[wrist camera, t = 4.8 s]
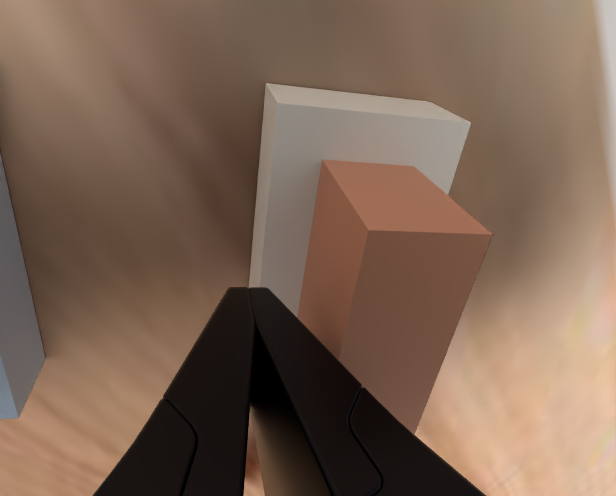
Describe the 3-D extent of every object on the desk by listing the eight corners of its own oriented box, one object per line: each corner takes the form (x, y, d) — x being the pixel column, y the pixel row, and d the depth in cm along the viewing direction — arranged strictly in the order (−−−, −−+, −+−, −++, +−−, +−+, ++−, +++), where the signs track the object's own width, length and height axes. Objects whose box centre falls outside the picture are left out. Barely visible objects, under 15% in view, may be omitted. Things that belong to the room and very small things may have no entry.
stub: (363, 347, 14) (427, 496, 10) (243, 352, 13) (258, 517, 9) (429, 101, 10) (577, 175, 6) (265, 82, 10) (308, 156, 5)
